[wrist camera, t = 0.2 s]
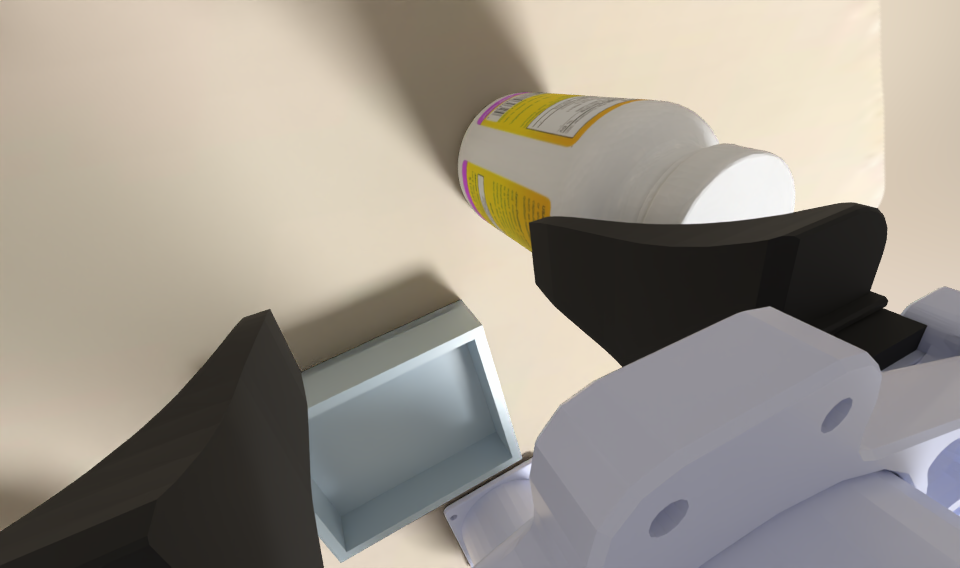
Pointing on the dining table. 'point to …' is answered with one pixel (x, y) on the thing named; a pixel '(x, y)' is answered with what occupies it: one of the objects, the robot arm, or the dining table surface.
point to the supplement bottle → (611, 165)
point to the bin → (403, 427)
